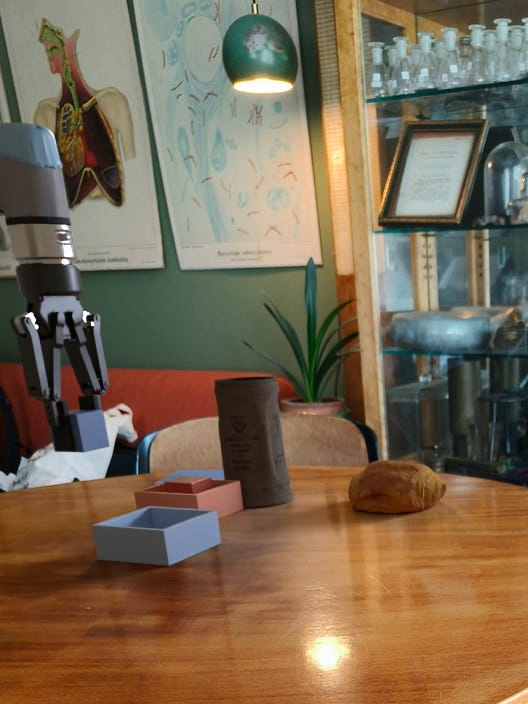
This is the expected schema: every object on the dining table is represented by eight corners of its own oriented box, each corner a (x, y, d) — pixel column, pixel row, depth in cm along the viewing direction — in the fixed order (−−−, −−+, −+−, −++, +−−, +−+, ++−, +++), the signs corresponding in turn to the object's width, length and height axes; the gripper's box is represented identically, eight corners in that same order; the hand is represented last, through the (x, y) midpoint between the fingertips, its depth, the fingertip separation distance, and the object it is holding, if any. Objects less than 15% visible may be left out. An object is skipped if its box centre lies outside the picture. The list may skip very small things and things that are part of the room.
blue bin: (97, 559, 115) (90, 525, 113) (153, 538, 124) (148, 506, 123) (169, 566, 111) (163, 530, 109) (221, 543, 121) (217, 510, 119)
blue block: (54, 451, 120) (46, 414, 118) (81, 445, 124) (74, 409, 123) (83, 452, 118) (76, 414, 117) (109, 446, 123) (103, 409, 121)
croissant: (373, 506, 150) (364, 458, 148) (457, 497, 144) (450, 448, 142) (332, 523, 137) (322, 472, 135) (423, 515, 131) (414, 461, 129)
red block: (168, 514, 136) (163, 481, 134) (189, 507, 140) (184, 475, 138) (196, 516, 134) (191, 483, 132) (215, 508, 138) (211, 477, 136)
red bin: (138, 521, 134) (133, 491, 132) (184, 505, 144) (180, 477, 142) (200, 526, 130) (196, 495, 129) (243, 509, 140) (240, 480, 139)
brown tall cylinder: (285, 507, 140) (273, 376, 134) (217, 509, 140) (202, 378, 134) (303, 494, 155) (293, 375, 149) (242, 495, 155) (230, 377, 149)
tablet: (278, 474, 167) (277, 467, 167) (261, 488, 156) (260, 480, 155) (178, 476, 168) (177, 469, 168) (153, 489, 156) (152, 482, 156)
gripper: (13, 260, 104) (53, 459, 112) (118, 263, 120) (147, 438, 128) (-35, 262, 106) (8, 457, 115) (74, 266, 122) (105, 436, 130)
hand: (81, 446), depth 121 cm, fingers closed on blue block, 5 cm apart
